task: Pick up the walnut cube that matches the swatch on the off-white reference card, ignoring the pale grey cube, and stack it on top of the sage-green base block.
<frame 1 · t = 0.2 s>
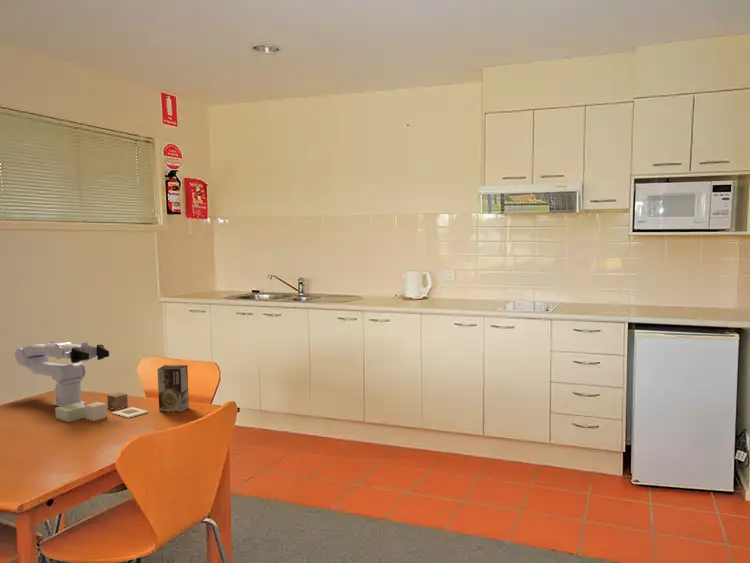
hand: (98, 355, 214), 21 cm above the table, tool horizontal, fingers open, 7 cm apart
reference card: (130, 413, 214), on the table
grey cube: (96, 418, 209), on the table
base block: (73, 417, 210), on the table
walnut cube: (117, 407, 222), on the table
coffee box: (174, 410, 219), on the table
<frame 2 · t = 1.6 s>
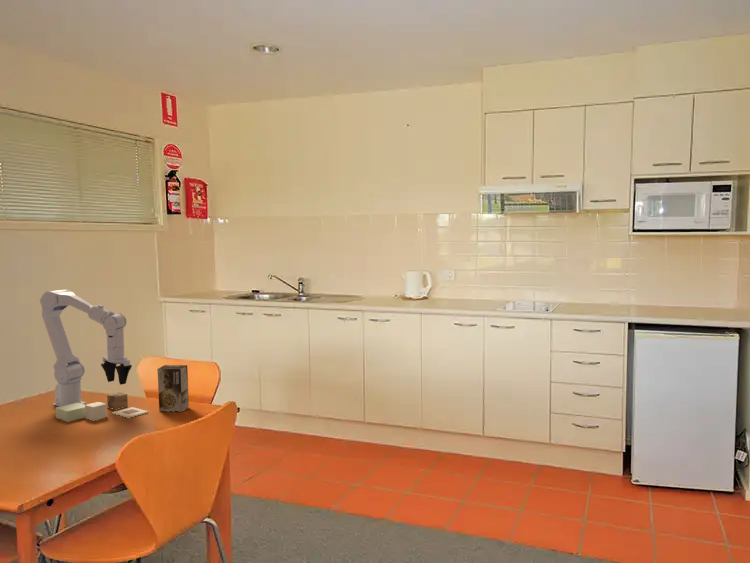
hand: (116, 382, 221), 9 cm above the table, tool pointing down, fingers open, 7 cm apart
nothing on the table moved.
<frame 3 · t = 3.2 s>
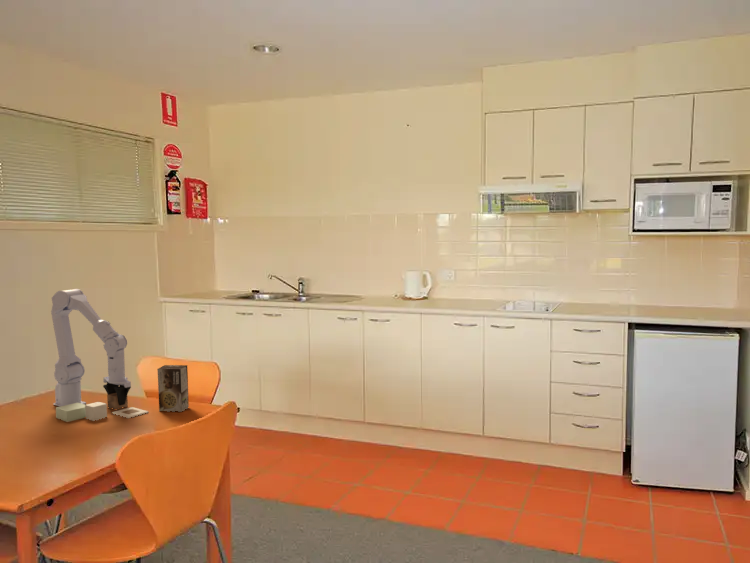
hand: (117, 403, 222), 1 cm above the table, tool pointing down, fingers closed on walnut cube, 5 cm apart
walnut cube: (117, 407, 222), on the table, touching gripper
everything else where it was.
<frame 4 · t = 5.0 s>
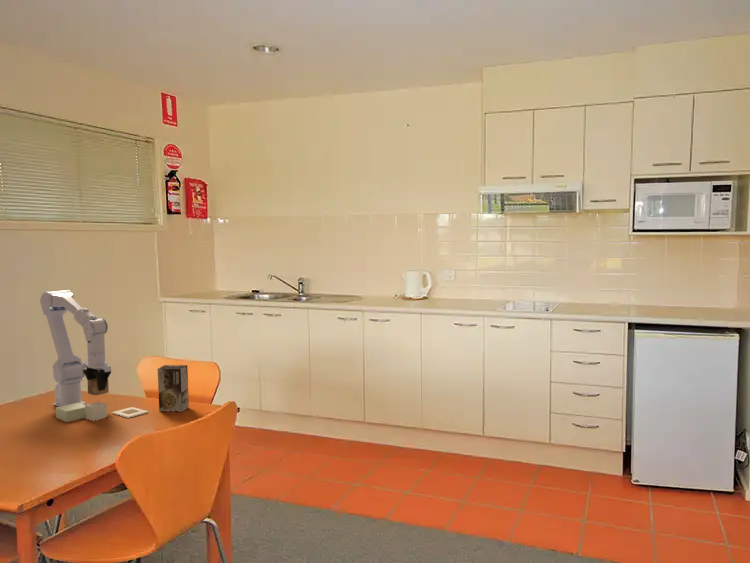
hand: (97, 389, 216), 8 cm above the table, tool pointing down, fingers closed on walnut cube, 5 cm apart
walnut cube: (98, 393, 217), point 7 cm above the table, touching gripper
everything else where it was.
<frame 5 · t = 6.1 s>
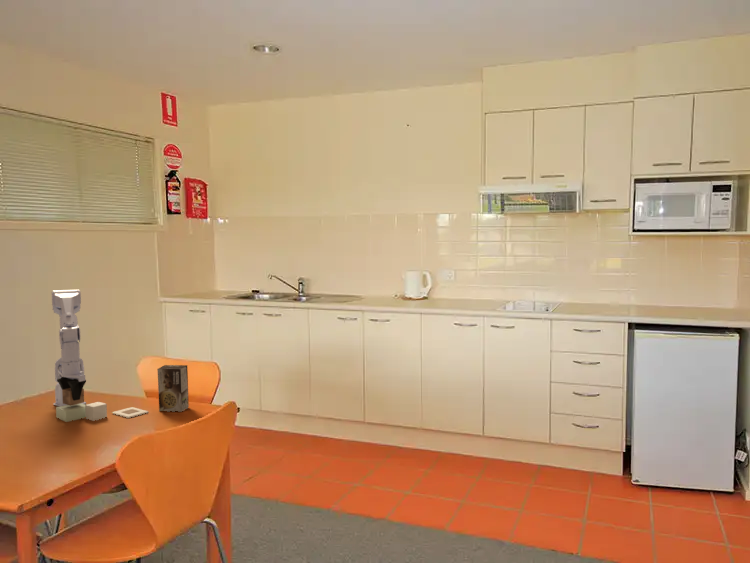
hand: (72, 398, 210), 7 cm above the table, tool pointing down, fingers closed on walnut cube, 5 cm apart
walnut cube: (73, 402, 210), point 5 cm above the table, touching gripper
everything else where it was.
when the fingers open (7 cm above the table, at t = 6.8 s): walnut cube drops 1 cm, resting on base block.
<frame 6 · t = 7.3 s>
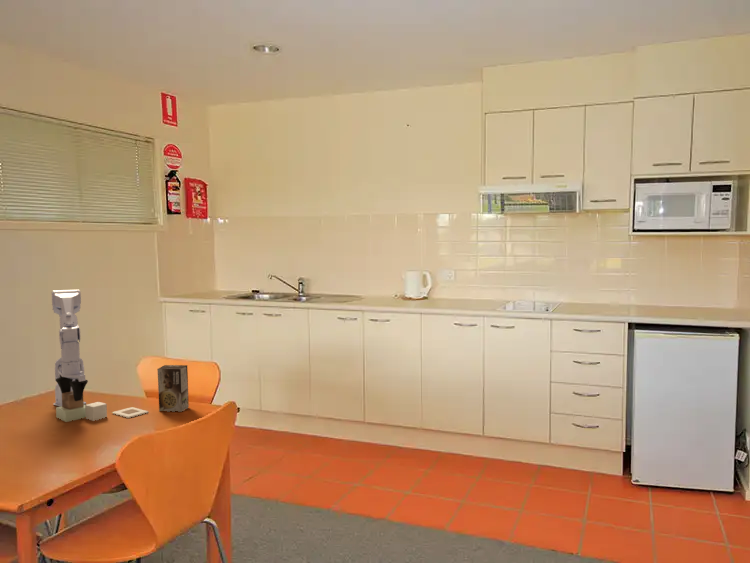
hand: (72, 398, 210), 7 cm above the table, tool pointing down, fingers open, 7 cm apart
base block: (72, 418, 210), on the table, touching walnut cube
walnut cube: (73, 406, 210), point 4 cm above the table, touching base block
everything else where it was.
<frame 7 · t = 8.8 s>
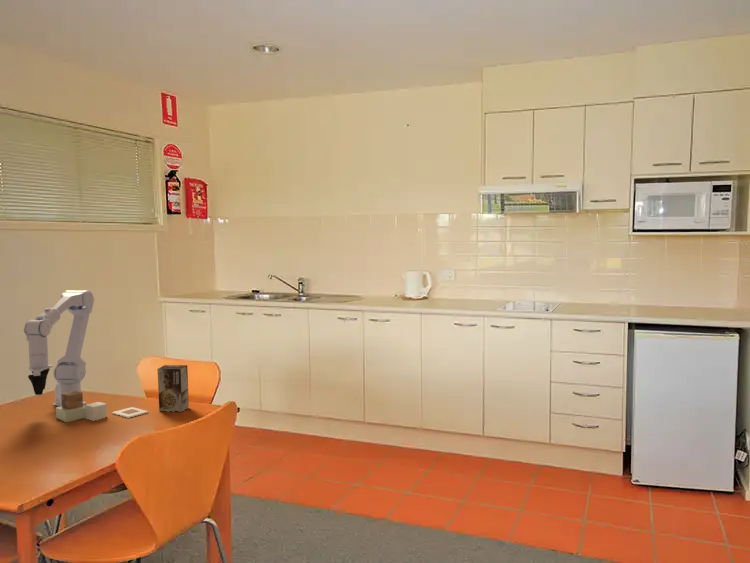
hand: (40, 391, 208), 9 cm above the table, tool pointing down, fingers open, 7 cm apart
nothing on the table moved.
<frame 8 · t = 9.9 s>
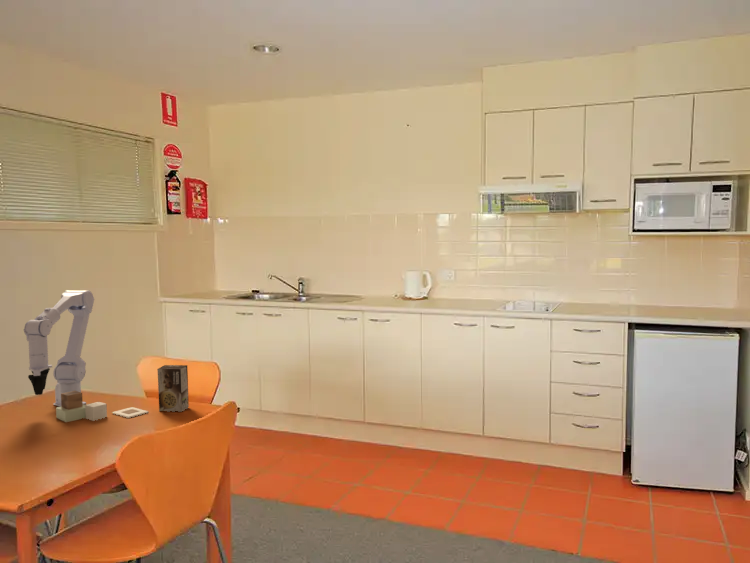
hand: (40, 391, 208), 9 cm above the table, tool pointing down, fingers open, 7 cm apart
nothing on the table moved.
at the end: walnut cube 0.3 cm off-centre on the base block, point 4.0 cm above the base block's base; walnut cube tilted 0°; grey cube moved 0.1 cm from its start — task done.
